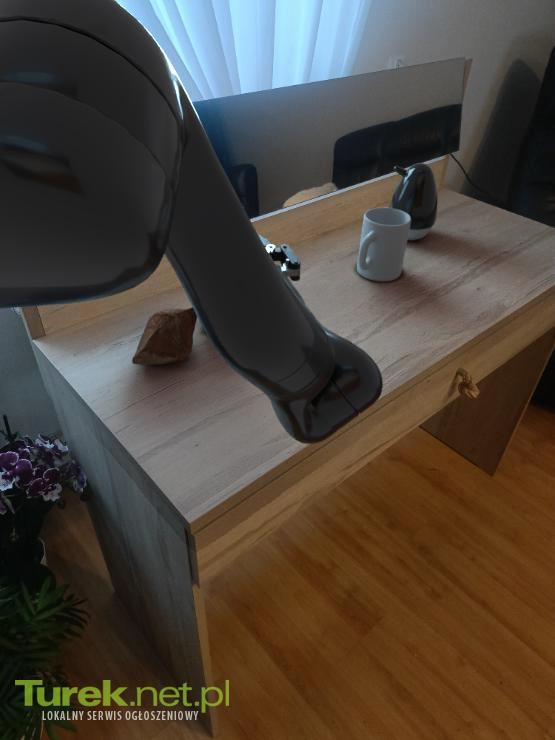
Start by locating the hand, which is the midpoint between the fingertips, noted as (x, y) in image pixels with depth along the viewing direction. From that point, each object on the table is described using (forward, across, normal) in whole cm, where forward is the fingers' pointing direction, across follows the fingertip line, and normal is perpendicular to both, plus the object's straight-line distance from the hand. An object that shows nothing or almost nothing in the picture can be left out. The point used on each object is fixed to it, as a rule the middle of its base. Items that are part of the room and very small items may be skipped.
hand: (228, 245), depth 70 cm
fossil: (-2, +11, +15) cm, 19 cm away
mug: (+9, -31, +15) cm, 36 cm away
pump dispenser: (+22, -46, +15) cm, 54 cm away
